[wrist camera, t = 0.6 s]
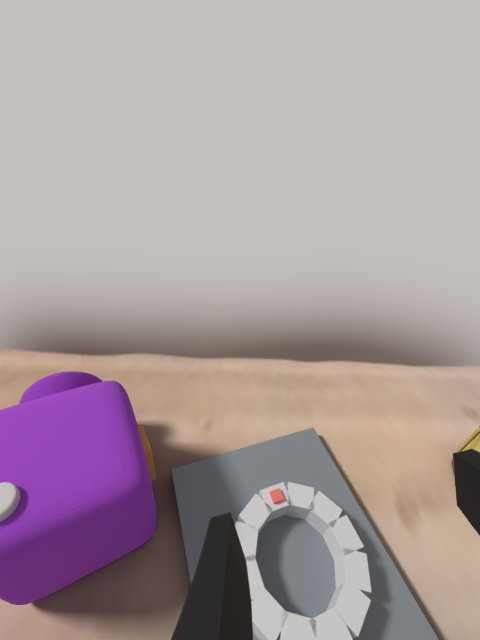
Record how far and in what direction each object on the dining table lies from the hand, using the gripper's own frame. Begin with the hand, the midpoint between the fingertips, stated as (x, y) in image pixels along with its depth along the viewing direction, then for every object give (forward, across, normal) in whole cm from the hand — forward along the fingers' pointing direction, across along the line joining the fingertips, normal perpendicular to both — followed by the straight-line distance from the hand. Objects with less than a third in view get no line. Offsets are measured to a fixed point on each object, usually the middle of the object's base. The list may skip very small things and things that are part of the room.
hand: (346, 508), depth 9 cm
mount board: (+9, +3, +14) cm, 17 cm away
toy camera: (+14, +18, +8) cm, 24 cm away
